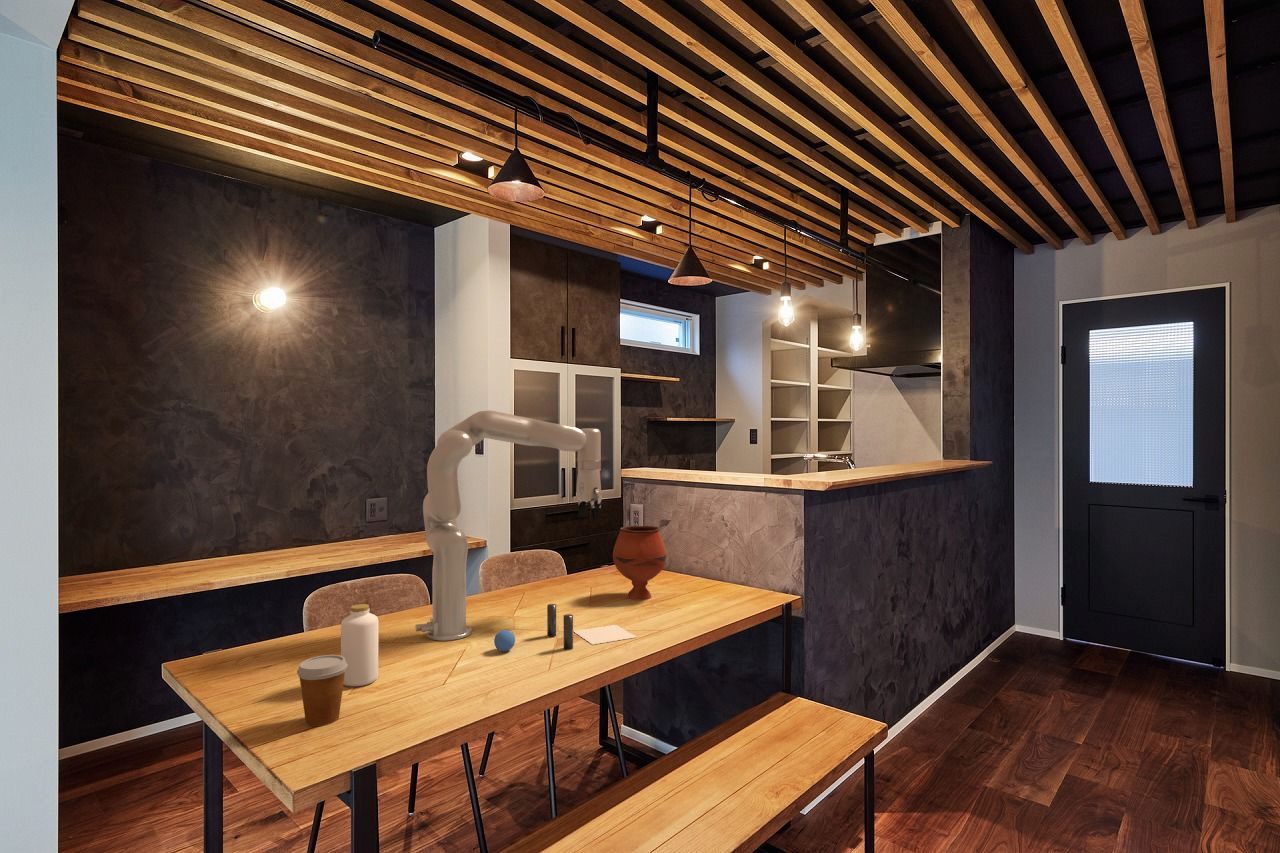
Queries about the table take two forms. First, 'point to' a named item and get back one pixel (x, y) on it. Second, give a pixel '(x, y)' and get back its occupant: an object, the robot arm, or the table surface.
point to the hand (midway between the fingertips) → (589, 518)
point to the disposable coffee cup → (322, 688)
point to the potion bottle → (360, 646)
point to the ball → (504, 640)
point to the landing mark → (604, 634)
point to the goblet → (639, 557)
